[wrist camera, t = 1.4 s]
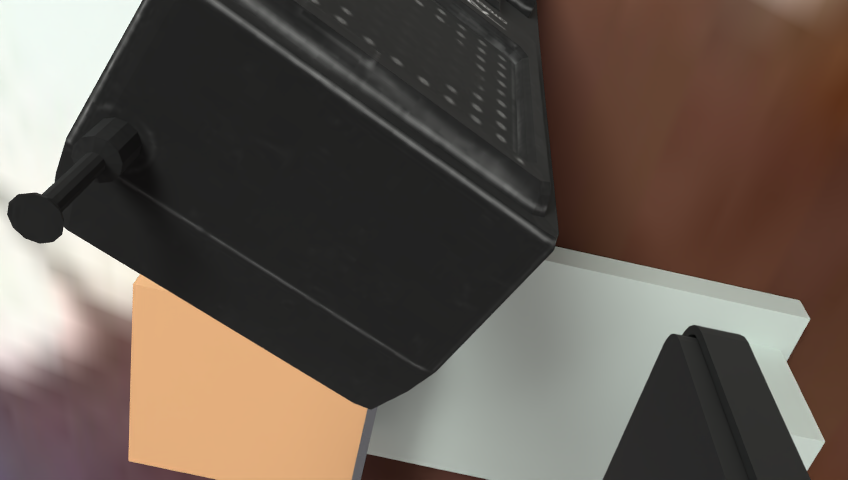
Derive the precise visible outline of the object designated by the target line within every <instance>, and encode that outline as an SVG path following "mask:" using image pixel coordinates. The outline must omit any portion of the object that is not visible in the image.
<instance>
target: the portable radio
mask: <svg viewBox="0 0 848 480" xmlns="http://www.w3.org/2000/svg"><path fill="white" fill-rule="evenodd" d="M7 215H8V217H9V220H10V222H11V224H12V226H13V228H14V229H15V230H16V231H17V232H19V233H20V234H21V235H22V236H23V237H24V238H26V239H29V240H31V241H34V242H37V243H49V242H54V241H55V240H56V239H57V238H59V237H60V236H61V235H62V232H63V227H65V228H66V229H67V230H68V231H70V232H72V233H73V234H75V235H77V236H78V237H80V238H82V239H83V240H85V241H87V242H88V243H90V244H91V245H93V246H95V247H96V248H98V249H100V250H101V251H103V252H105V253H106V254H108V255H110V256H111V257H113V258H115V259H116V260H118V261H120V262H121V263H123V264H125V265H126V266H128V267H129V268H131V269H133V270H134V271H136V272H138V273H139V274H141V275H143V276H144V277H146V278H148V279H149V280H151V281H153V282H154V283H156V284H158V285H159V286H161V287H163V288H164V289H166V290H167V291H169V292H171V293H172V294H174V295H176V296H177V297H179V298H181V299H182V300H184V301H186V302H187V303H189V304H191V305H192V306H194V307H196V308H197V309H199V310H201V311H202V312H204V313H206V314H207V315H209V316H210V317H212V318H214V319H215V320H217V321H219V322H220V323H222V324H224V325H225V326H227V327H229V328H230V329H232V330H234V331H235V332H237V333H239V334H240V335H242V336H243V337H245V338H247V339H248V340H250V341H252V342H253V343H255V344H257V345H258V346H260V347H262V348H263V349H265V350H267V351H268V352H270V353H272V354H273V355H275V356H276V357H278V358H280V359H281V360H283V361H285V362H286V363H288V364H290V365H291V366H293V367H295V368H296V369H298V370H300V371H301V372H303V373H305V374H306V375H308V376H309V377H311V378H313V379H314V380H316V381H318V382H319V383H321V384H323V385H324V386H326V387H328V388H329V389H331V390H333V391H334V392H336V393H338V394H339V395H341V396H342V397H344V398H346V399H347V400H349V401H351V402H352V403H354V404H357V405H360V406H362V407H365V408H368V409H370V410H372V409H374V408H376V407H378V406H380V405H382V404H384V403H386V402H388V401H390V400H392V399H394V398H396V397H398V396H400V395H402V394H404V393H406V392H408V391H409V390H411V389H412V388H414V387H415V386H416V385H418V384H419V383H421V382H422V381H424V380H425V379H427V378H428V377H429V376H431V375H432V374H434V373H435V372H436V371H437V370H438V369H439V368H440V367H441V366H442V365H443V364H444V363H445V362H446V361H447V360H448V359H449V358H450V357H451V356H452V355H453V354H454V353H455V352H456V351H457V350H458V349H459V348H460V347H461V346H462V345H463V344H464V343H465V342H466V341H467V340H468V339H469V338H470V336H471V335H472V334H473V333H474V332H475V331H476V330H477V329H478V328H479V327H480V326H481V325H482V324H483V323H484V322H485V321H486V320H487V319H488V318H489V317H490V316H491V315H492V314H493V313H494V312H495V311H496V310H497V309H498V308H499V307H500V306H501V305H502V304H503V303H504V302H505V301H506V299H507V298H508V297H509V296H510V295H511V294H512V293H513V292H514V291H515V290H516V289H517V288H518V287H519V286H520V285H521V284H522V283H523V282H524V281H525V280H526V279H527V278H528V277H529V276H530V275H531V274H532V273H533V272H534V271H535V270H536V269H537V268H538V267H539V266H540V265H541V263H542V262H543V261H544V260H545V259H546V258H547V257H548V256H549V255H550V254H551V253H552V252H553V251H554V249H555V245H556V241H557V238H558V235H559V230H558V221H557V211H556V201H555V191H554V181H553V171H552V161H551V151H550V141H549V131H548V122H547V112H546V102H545V92H544V82H543V72H542V62H541V52H540V42H539V31H538V17H537V3H536V0H142V2H141V4H140V6H139V8H138V9H137V11H136V13H135V15H134V17H133V18H132V20H131V22H130V24H129V26H128V27H127V29H126V31H125V33H124V35H123V36H122V38H121V40H120V42H119V44H118V46H117V47H116V49H115V51H114V53H113V55H112V56H111V58H110V60H109V62H108V64H107V65H106V67H105V69H104V71H103V73H102V74H101V76H100V78H99V80H98V82H97V84H96V85H95V87H94V89H93V91H92V93H91V94H90V96H89V98H88V100H87V102H86V103H85V105H84V107H83V109H82V111H81V112H80V114H79V116H78V118H77V120H76V121H75V123H74V125H73V127H72V129H71V131H70V132H69V134H68V136H67V138H66V141H65V145H64V148H63V151H62V155H61V158H60V161H59V165H58V168H57V171H56V177H55V183H54V184H53V185H52V186H50V187H49V188H48V189H47V190H46V191H45V192H44V193H43V194H42V195H41V194H38V193H27V194H18V195H17V196H16V197H15V198H13V199H12V200H11V201H10V202H9V206H8V213H7Z"/></svg>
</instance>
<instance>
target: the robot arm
mask: <svg viewBox="0 0 848 480" xmlns="http://www.w3.org/2000/svg"><path fill="white" fill-rule="evenodd" d="M603 480H811V479H810V477H809V475H808V472H807V470H806V468H805V466H804V464H803V461H802V459H801V457H800V455H799V453H798V450H797V448H796V446H795V444H794V442H793V439H792V437H791V435H790V433H789V431H788V428H787V426H786V424H785V422H784V420H783V417H782V415H781V413H780V411H779V409H778V406H777V404H776V402H775V400H774V398H773V395H772V393H771V391H770V389H769V387H768V384H767V382H766V380H765V378H764V376H763V373H762V371H761V369H760V367H759V364H758V362H757V360H756V358H755V356H754V353H753V351H752V349H751V347H750V345H749V342H748V341H747V340H746V338H745V337H744V336H742V335H740V334H736V333H731V332H726V331H721V330H717V329H712V328H707V327H702V326H698V325H692V326H689V327H688V328H687V329H686V330H685V331H684V333H683V334H682V335H678V334H671V335H669V337H668V338H667V339H666V341H665V342H664V344H663V346H662V349H661V351H660V353H659V355H658V358H657V360H656V362H655V364H654V366H653V369H652V371H651V373H650V375H649V378H648V380H647V382H646V384H645V386H644V389H643V391H642V393H641V395H640V397H639V400H638V402H637V404H636V406H635V409H634V411H633V413H632V415H631V417H630V420H629V422H628V424H627V426H626V429H625V431H624V433H623V435H622V437H621V440H620V442H619V444H618V446H617V449H616V451H615V453H614V455H613V457H612V460H611V462H610V464H609V466H608V469H607V471H606V473H605V475H604V477H603Z"/></svg>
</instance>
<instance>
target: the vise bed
mask: <svg viewBox="0 0 848 480" xmlns="http://www.w3.org/2000/svg"><path fill="white" fill-rule="evenodd" d="M809 320H810V318H809V316H808V314H807V312H806V311H805V309H804V307H803V305H802V304H801V302H800V300H795V299H791V298H786V297H782V296H777V295H773V294H768V293H764V292H759V291H755V290H750V289H746V288H741V287H737V286H732V285H728V284H723V283H719V282H714V281H710V280H705V279H701V278H696V277H692V276H687V275H683V274H678V273H674V272H669V271H665V270H660V269H656V268H651V267H647V266H642V265H637V264H633V263H628V262H624V261H619V260H615V259H610V258H606V257H601V256H597V255H592V254H588V253H583V252H579V251H574V250H570V249H565V248H561V247H556V246H555V249H554V251H553V252H552V253H551V254H550V255H549V256H548V257H547V258H546V259H545V260H544V261H543V262H542V263H541V265H540V266H539V267H538V268H537V269H536V270H535V271H534V272H533V273H532V274H531V275H530V276H529V277H528V278H527V279H526V280H525V281H524V282H523V283H522V284H521V285H520V286H519V287H518V288H517V289H516V290H515V291H514V292H513V293H512V294H511V295H510V296H509V297H508V298H507V299H506V301H505V302H504V303H503V304H502V305H501V306H500V307H499V308H498V309H497V310H496V311H495V312H494V313H493V314H492V315H491V316H490V317H489V318H488V319H487V320H486V321H485V322H484V323H483V324H482V325H481V326H480V327H479V328H478V329H477V330H476V331H475V332H474V333H473V334H472V335H471V336H470V338H469V339H468V340H467V341H466V342H465V343H464V344H463V345H462V346H461V347H460V348H459V349H458V350H457V351H456V352H455V353H454V354H453V355H452V356H451V357H450V358H449V359H448V360H447V361H446V362H445V363H444V364H443V365H442V366H441V367H440V368H439V369H438V370H437V371H436V372H435V373H434V374H432V375H431V376H429V377H428V378H427V379H425V380H424V381H422V382H421V383H419V384H418V385H416V386H415V387H414V388H412V389H411V390H409V391H408V392H406V393H404V394H402V395H400V396H398V397H396V398H394V399H392V400H390V401H388V402H386V403H384V404H382V405H380V406H378V408H377V412H376V416H375V421H374V425H373V429H372V433H371V438H370V442H369V446H368V451H367V454H370V455H375V456H380V457H385V458H389V459H394V460H399V461H403V462H408V463H413V464H418V465H422V466H427V467H432V468H436V469H441V470H446V471H451V472H455V473H460V474H465V475H469V476H474V477H479V478H484V479H488V480H603V477H604V475H605V473H606V471H607V469H608V466H609V464H610V462H611V460H612V457H613V455H614V453H615V451H616V449H617V446H618V444H619V442H620V440H621V437H622V435H623V433H624V431H625V429H626V426H627V424H628V422H629V420H630V417H631V415H632V413H633V411H634V409H635V406H636V404H637V402H638V400H639V397H640V395H641V393H642V391H643V389H644V386H645V384H646V382H647V380H648V378H649V375H650V373H651V371H652V369H653V366H654V364H655V362H656V360H657V358H658V355H659V353H660V351H661V349H662V346H663V344H664V342H665V341H666V339H667V338H668V337H669V335H671V334H678V335H682V334H683V333H684V331H685V330H686V329H687V328H688V327H689V326H692V325H698V326H702V327H707V328H712V329H717V330H721V331H726V332H731V333H736V334H740V335H742V336H744V337H745V338H746V340H747V341H748V342H749V345H750V347H751V349H752V351H753V353H754V356H755V358H756V360H757V362H758V364H759V367H760V369H761V371H762V373H763V376H764V378H765V380H766V382H767V384H768V387H769V389H770V391H771V393H772V395H773V398H774V400H775V402H776V404H777V406H778V409H779V411H780V413H781V415H782V417H783V420H784V422H785V424H786V426H787V428H788V431H789V433H790V435H791V437H792V439H793V442H794V444H795V446H796V448H797V450H798V453H799V455H800V457H801V459H802V461H803V464H804V466H805V468H806V470H808V468H809V467H810V465H811V464H812V462H813V460H814V459H815V457H816V456H817V454H818V452H819V451H820V449H821V448H822V446H823V444H824V443H825V440H824V438H823V436H822V434H821V432H820V430H819V428H818V426H817V424H816V422H815V420H814V418H813V416H812V414H811V411H810V409H809V407H808V405H807V403H806V401H805V399H804V397H803V395H802V393H801V391H800V389H799V387H798V385H797V382H796V380H795V378H794V376H793V374H792V372H791V370H790V368H789V366H788V364H787V360H788V358H789V356H790V354H791V353H792V351H793V349H794V347H795V345H796V344H797V342H798V340H799V338H800V336H801V335H802V333H803V331H804V329H805V327H806V326H807V324H808V322H809Z"/></svg>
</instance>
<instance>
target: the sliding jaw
mask: <svg viewBox="0 0 848 480" xmlns="http://www.w3.org/2000/svg"><path fill="white" fill-rule="evenodd" d="M377 408H378V407H376V408H374V409H372V410H370V409H368V408H365V407H362V406H360V405H357V404H354V403H352V402H351V401H349V400H347V399H346V398H344V397H342V396H341V395H339V394H338V393H336V392H334V391H333V390H331V389H329V388H328V387H326V386H324V385H323V384H321V383H319V382H318V381H316V380H314V379H313V378H311V377H309V376H308V375H306V374H305V373H303V372H301V371H300V370H298V369H296V368H295V367H293V366H291V365H290V364H288V363H286V362H285V361H283V360H281V359H280V358H278V357H276V356H275V355H273V354H272V353H270V352H268V351H267V350H265V349H263V348H262V347H260V346H258V345H257V344H255V343H253V342H252V341H250V340H248V339H247V338H245V337H243V336H242V335H240V334H239V333H237V332H235V331H234V330H232V329H230V328H229V327H227V326H225V325H224V324H222V323H220V322H219V321H217V320H215V319H214V318H212V317H210V316H209V315H207V314H206V313H204V312H202V311H201V310H199V309H197V308H196V307H194V306H192V305H191V304H189V303H187V302H186V301H184V300H182V299H181V298H179V297H177V296H176V295H174V294H172V293H171V292H169V291H167V290H166V289H164V288H163V287H161V286H159V285H158V284H156V283H154V282H153V281H151V280H149V279H148V278H146V277H144V276H143V275H141V274H140V275H139V277H138V278H137V280H136V281H135V282H134V284H133V311H132V349H131V387H130V425H129V461H131V462H136V463H141V464H146V465H150V466H155V467H160V468H165V469H169V470H174V471H179V472H184V473H188V474H193V475H198V476H203V477H208V478H212V479H217V480H361V476H362V472H363V468H364V463H365V459H366V455H367V451H368V446H369V442H370V438H371V433H372V429H373V425H374V421H375V416H376V412H377Z"/></svg>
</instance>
